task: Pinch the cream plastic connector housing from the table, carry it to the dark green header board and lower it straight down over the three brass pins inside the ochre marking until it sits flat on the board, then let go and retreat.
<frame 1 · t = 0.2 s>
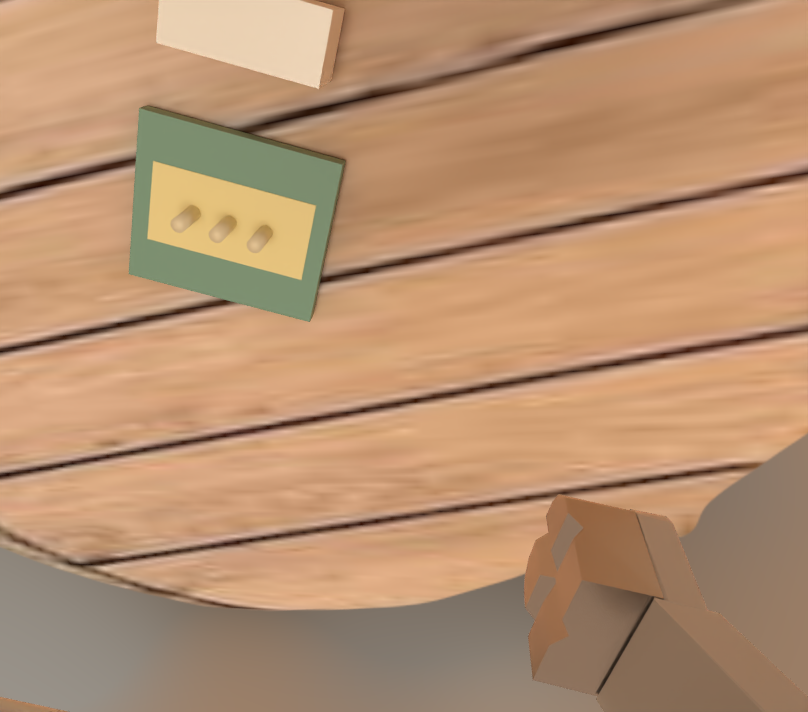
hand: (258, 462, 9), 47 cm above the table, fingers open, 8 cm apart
header board: (235, 217, 57), on the table
housing: (262, 23, 50), on the table
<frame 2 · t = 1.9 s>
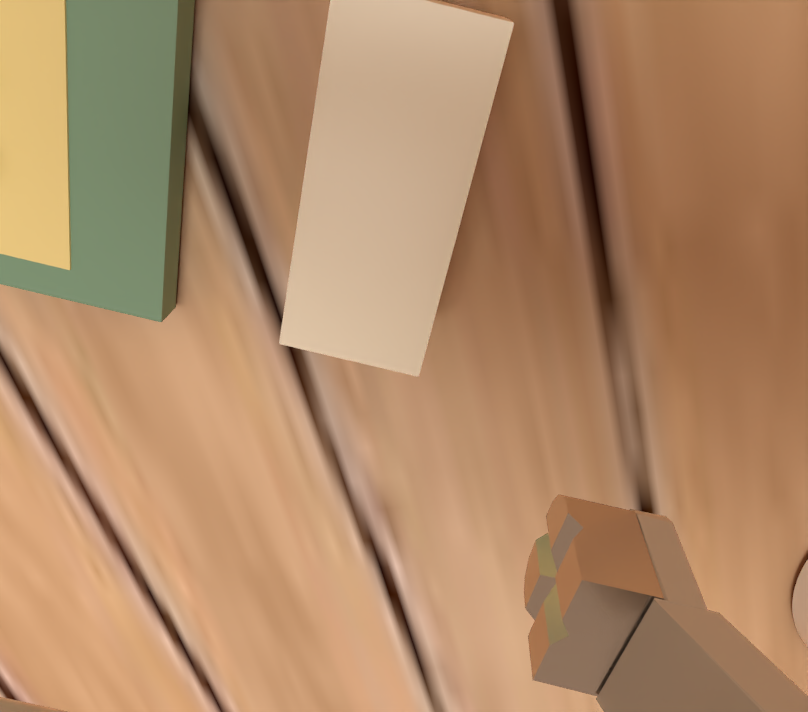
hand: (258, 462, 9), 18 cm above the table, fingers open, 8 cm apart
header board: (0, 69, 25), on the table
housing: (397, 167, 25), on the table
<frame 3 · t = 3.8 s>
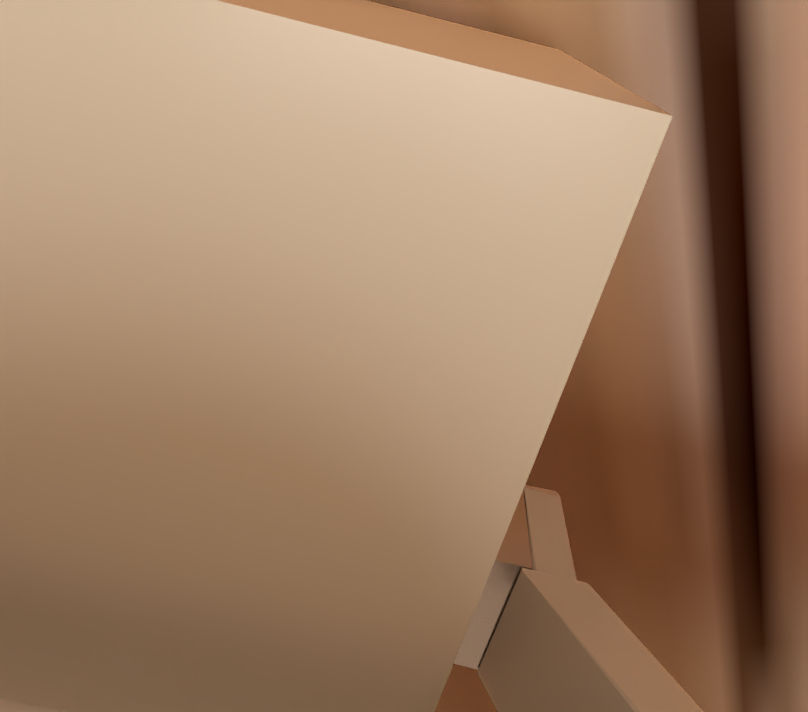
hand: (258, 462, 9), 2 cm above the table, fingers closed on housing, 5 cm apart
housing: (287, 396, 11), on the table, touching gripper
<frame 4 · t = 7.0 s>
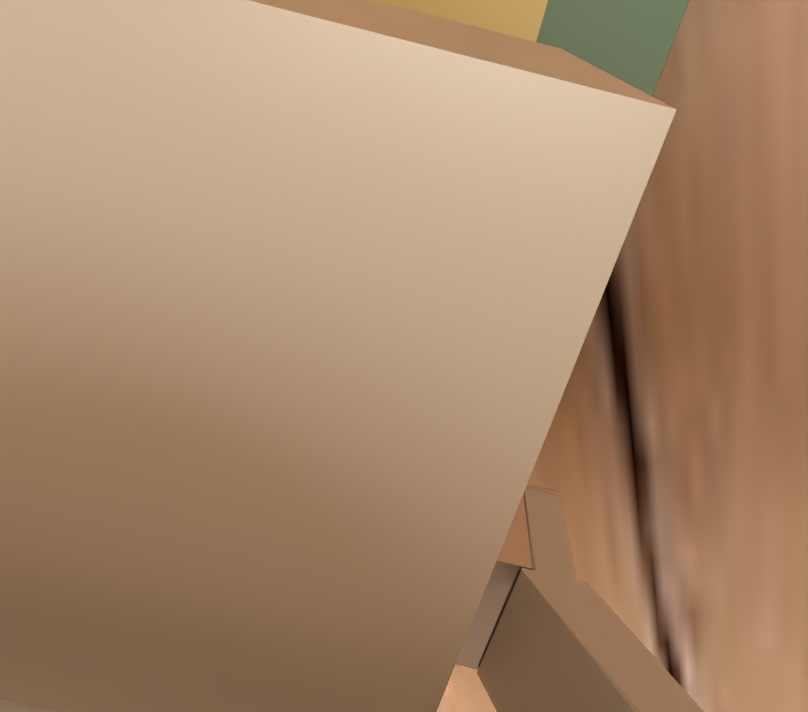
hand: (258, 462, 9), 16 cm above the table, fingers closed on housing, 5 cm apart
header board: (391, 178, 23), on the table
housing: (288, 396, 11), point 14 cm above the table, touching gripper
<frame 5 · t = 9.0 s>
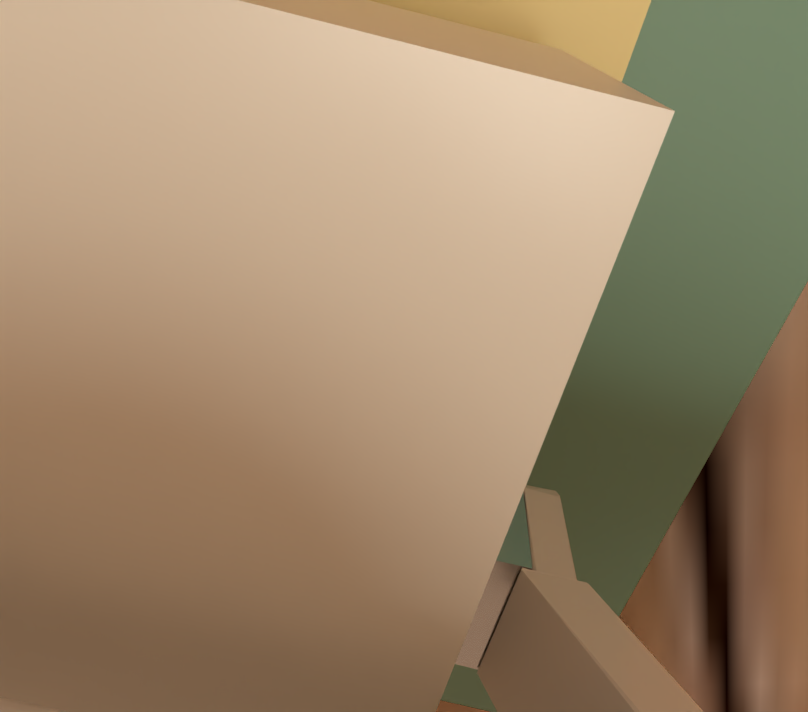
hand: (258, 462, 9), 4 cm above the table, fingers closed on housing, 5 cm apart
header board: (331, 319, 13), on the table
housing: (287, 397, 11), point 3 cm above the table, touching gripper
when the fingers open (3 cm above the table, at t = 10.4 s): housing stays where it is, resting on header board.
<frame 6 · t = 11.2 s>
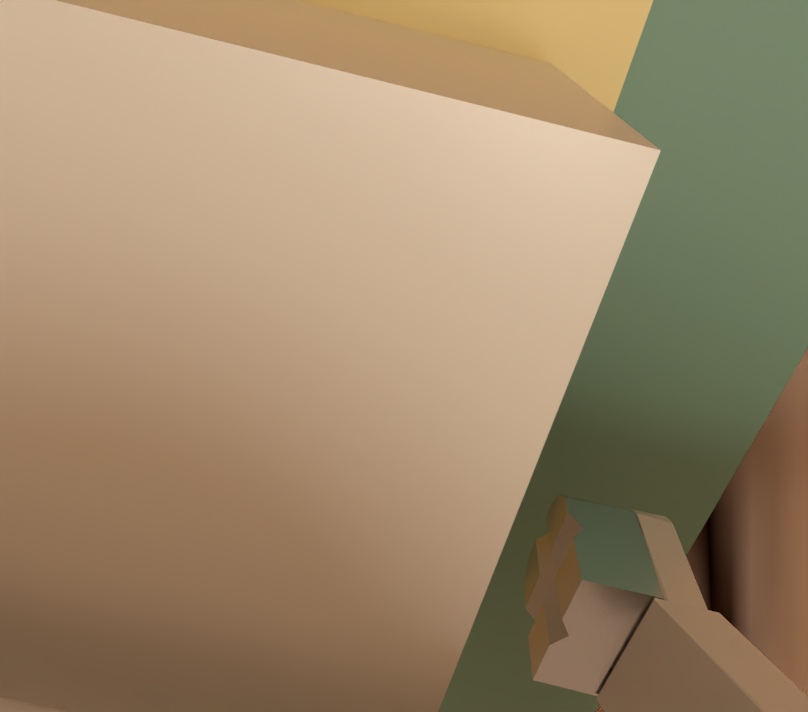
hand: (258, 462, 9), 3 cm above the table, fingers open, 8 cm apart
header board: (304, 361, 12), on the table
housing: (277, 414, 10), point 2 cm above the table, touching header board
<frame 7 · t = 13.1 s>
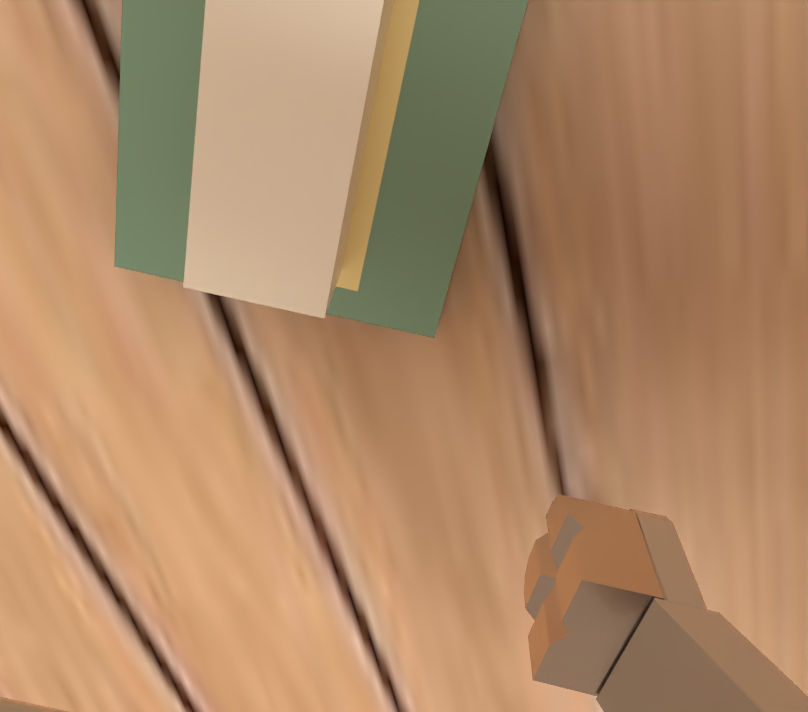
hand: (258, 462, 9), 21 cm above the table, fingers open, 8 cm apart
header board: (312, 107, 27), on the table
housing: (303, 115, 26), point 2 cm above the table, touching header board
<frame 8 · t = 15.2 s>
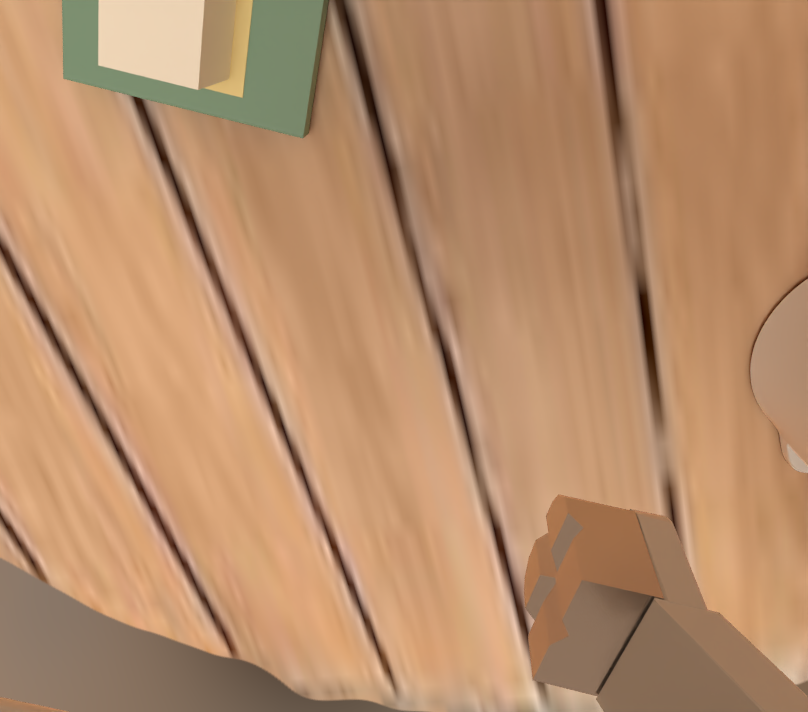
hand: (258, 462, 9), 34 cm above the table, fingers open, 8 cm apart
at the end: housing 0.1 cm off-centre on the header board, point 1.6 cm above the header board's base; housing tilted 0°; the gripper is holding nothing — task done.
